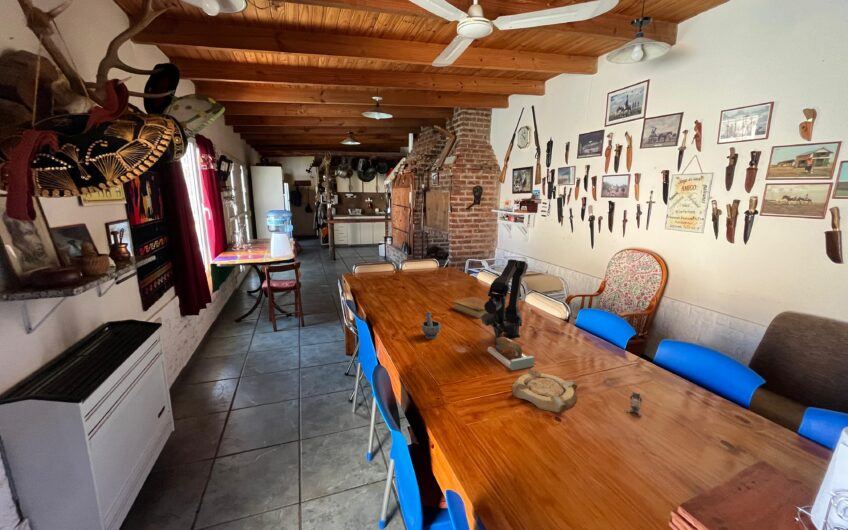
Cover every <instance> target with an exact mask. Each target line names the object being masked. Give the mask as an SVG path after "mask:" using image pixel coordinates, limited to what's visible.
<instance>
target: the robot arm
mask: <svg viewBox="0 0 848 530" xmlns="http://www.w3.org/2000/svg"><path fill="white" fill-rule="evenodd" d="M528 268H529V265H528V263H527V262H526V260H518V259H511V258H510V259H508V260H507V264H506V266H505V267H504V269H503V271H501V274H500V276H498V277H496V278H495V279H494V280H493V281H492V282H491V284H490V287H489V289H488V294H487V297H488V300H486V301H487V302H486V303H485V305H484V308H485V310H486V312H488V313H485V314H484V315H483V316H482V317H481V318H480V319H481V322H482V324H483V325H485V326H486V327H488V326H489V327H491V328H492V329H493V332H494V334H495V338H496V339H497V338H498V337H502V335H505V337H507V338H508V339H514V338H521V335H520V327H522V326H523V319H522V316H521V311H520V308H519V299H520V293H521V288H522V287H521V286H522V285H521V284H522V280H523V278H524V276H525V275H526V273H527V271H528ZM510 281H511V286H510V285H509V284H510ZM508 294H509V300H508V305H507V306H506V300H507V297H508ZM496 339H495V340H496Z"/></svg>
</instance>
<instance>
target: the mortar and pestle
mask: <svg viewBox="0 0 848 530" xmlns="http://www.w3.org/2000/svg"><path fill="white" fill-rule="evenodd" d="M431 314H432V312H431V311H427V312H425V315H426V318H425V319H426V321H422V323H421V331H422V332H423V333H424V337H425V338H426V339H429V340H435V339H437V338H438V334H439V333H440V330H441V326H442V324H441V323H440V321H436V320H432V315H431Z"/></svg>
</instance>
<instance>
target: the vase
mask: <svg viewBox="0 0 848 530" xmlns="http://www.w3.org/2000/svg"><path fill="white" fill-rule="evenodd" d="M631 394H632V395H630V397H629V398H630V399H629V407H630V408H631V410H629V409H626V408H625V409H624V412H628V413H629V414H631V413H636V414H638V417H643V416H642V415H643V413H640V409H641V408H642V401H643V399H642V397H641V394H640V393H635V392H634V391H633V392H632V393H631Z"/></svg>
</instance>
